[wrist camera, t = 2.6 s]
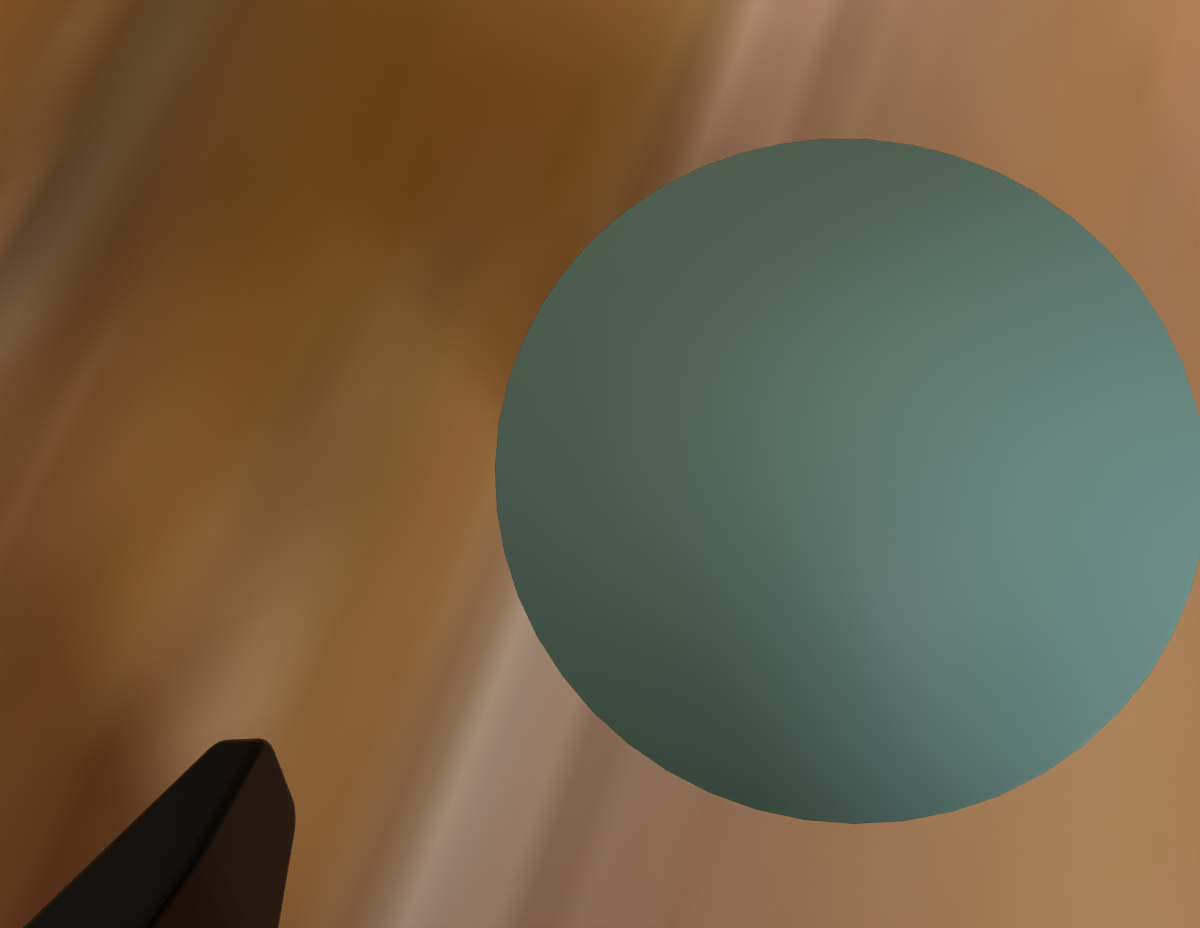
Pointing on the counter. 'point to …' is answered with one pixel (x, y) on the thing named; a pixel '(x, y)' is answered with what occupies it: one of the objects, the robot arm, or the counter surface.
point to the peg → (850, 481)
